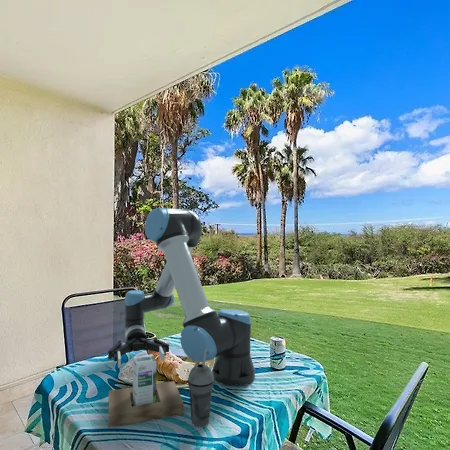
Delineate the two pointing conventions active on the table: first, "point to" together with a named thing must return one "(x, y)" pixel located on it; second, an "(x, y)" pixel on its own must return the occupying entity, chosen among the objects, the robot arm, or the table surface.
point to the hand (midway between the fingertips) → (141, 360)
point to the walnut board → (127, 414)
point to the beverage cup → (200, 393)
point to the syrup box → (144, 380)
